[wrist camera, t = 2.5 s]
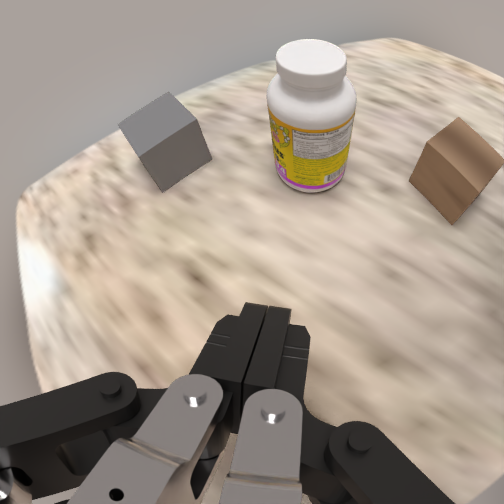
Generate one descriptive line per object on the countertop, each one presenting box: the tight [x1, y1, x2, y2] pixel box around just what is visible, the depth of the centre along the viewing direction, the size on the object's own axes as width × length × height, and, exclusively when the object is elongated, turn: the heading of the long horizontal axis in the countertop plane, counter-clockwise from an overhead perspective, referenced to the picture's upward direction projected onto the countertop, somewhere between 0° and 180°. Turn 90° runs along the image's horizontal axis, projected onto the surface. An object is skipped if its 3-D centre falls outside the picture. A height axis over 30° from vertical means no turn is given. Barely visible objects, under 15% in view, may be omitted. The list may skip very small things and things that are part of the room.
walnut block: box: [409, 117, 504, 225], centre depth 24 cm, size 6×6×6 cm
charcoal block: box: [118, 92, 212, 193], centre depth 29 cm, size 6×6×6 cm
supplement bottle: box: [267, 39, 357, 192], centre depth 23 cm, size 7×7×13 cm
